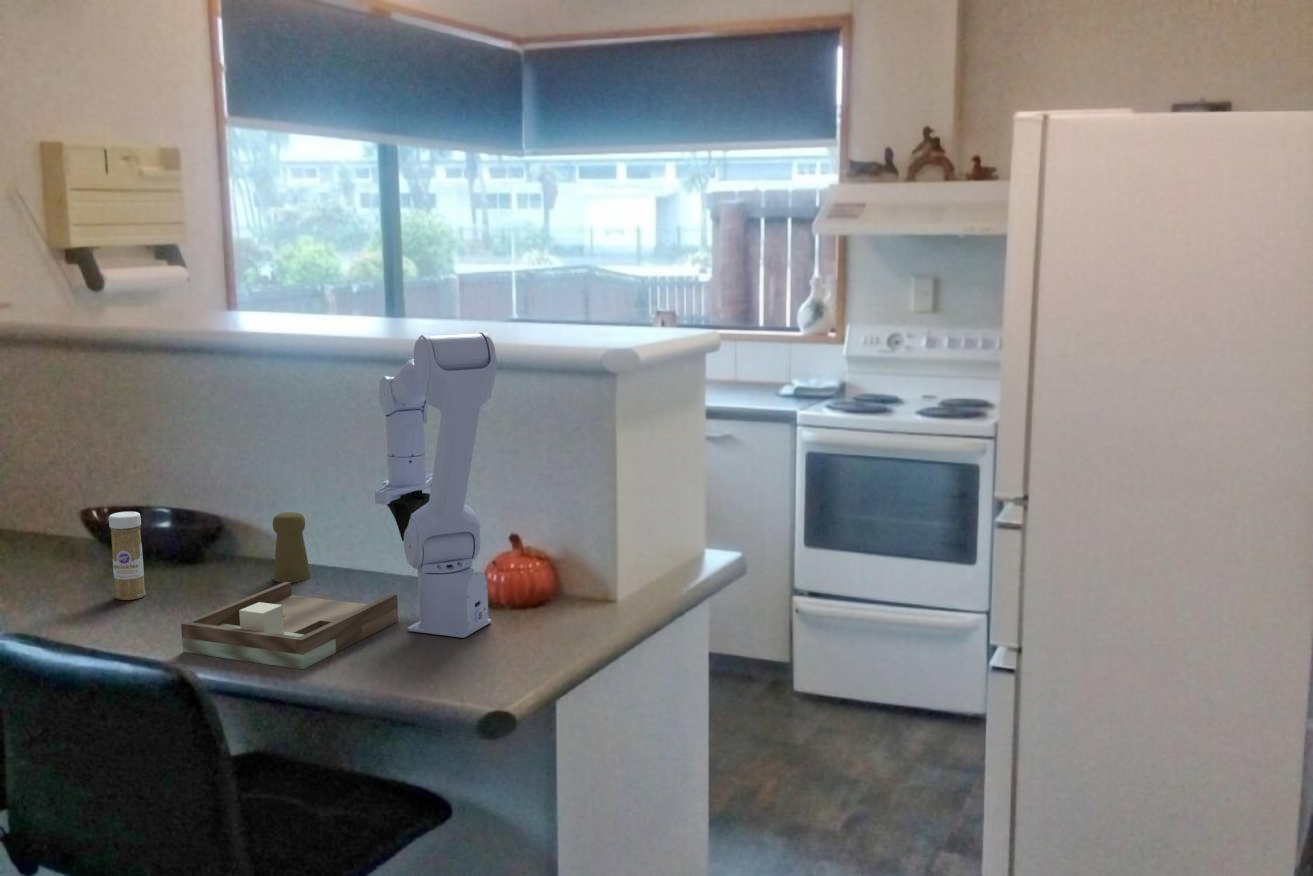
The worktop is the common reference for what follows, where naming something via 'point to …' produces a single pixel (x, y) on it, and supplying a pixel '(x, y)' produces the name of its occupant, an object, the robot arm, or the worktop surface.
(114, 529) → the sprinkles bottle
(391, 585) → the worktop surface
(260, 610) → the cream cube
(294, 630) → the box
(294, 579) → the cork
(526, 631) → the worktop surface
